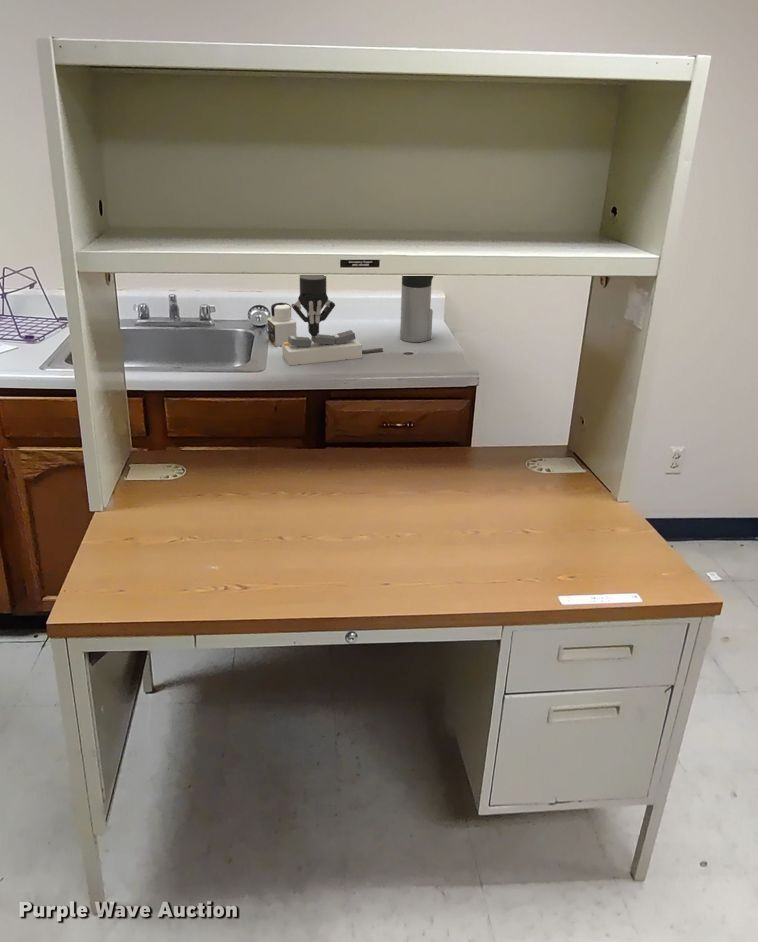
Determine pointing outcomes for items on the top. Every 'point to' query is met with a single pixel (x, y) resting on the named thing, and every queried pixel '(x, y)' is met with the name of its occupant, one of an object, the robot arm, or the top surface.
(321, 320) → the robot arm
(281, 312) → the medicine bottle
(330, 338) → the rocker middle
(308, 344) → the rocker
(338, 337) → the rocker
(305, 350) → the power strip
